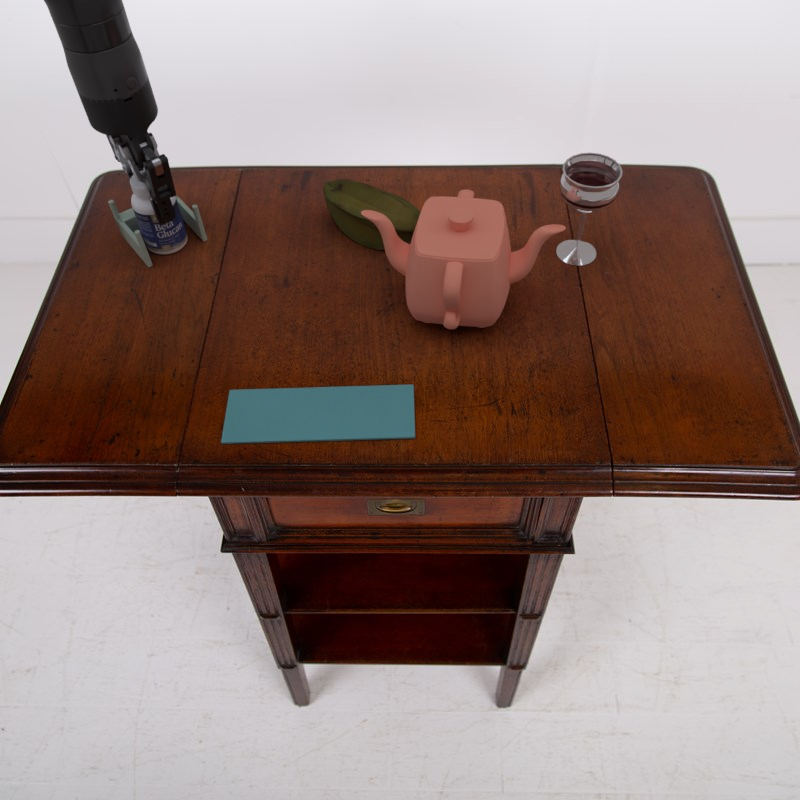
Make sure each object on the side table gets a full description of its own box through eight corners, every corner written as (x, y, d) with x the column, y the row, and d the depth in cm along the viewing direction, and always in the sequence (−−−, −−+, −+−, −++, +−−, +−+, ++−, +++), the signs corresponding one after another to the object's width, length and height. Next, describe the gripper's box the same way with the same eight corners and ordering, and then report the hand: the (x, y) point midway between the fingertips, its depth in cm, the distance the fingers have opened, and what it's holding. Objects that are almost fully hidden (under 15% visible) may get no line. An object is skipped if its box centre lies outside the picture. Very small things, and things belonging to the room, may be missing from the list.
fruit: (339, 268, 94) (333, 226, 89) (324, 210, 101) (318, 167, 96) (428, 253, 95) (428, 211, 90) (407, 196, 103) (406, 154, 97)
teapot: (366, 290, 91) (358, 204, 82) (476, 238, 97) (481, 152, 87) (438, 367, 84) (439, 282, 74) (553, 306, 89) (568, 219, 79)
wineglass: (591, 230, 97) (608, 148, 88) (612, 264, 93) (633, 182, 84) (540, 240, 96) (553, 157, 87) (560, 275, 92) (575, 192, 83)
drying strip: (221, 444, 78) (220, 442, 78) (230, 391, 82) (229, 389, 82) (415, 438, 78) (415, 437, 77) (413, 386, 82) (413, 384, 82)
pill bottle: (166, 261, 96) (143, 197, 88) (138, 245, 98) (113, 182, 90) (197, 238, 99) (177, 175, 91) (169, 223, 101) (148, 160, 93)
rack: (208, 240, 98) (198, 206, 94) (148, 268, 95) (135, 234, 91) (178, 208, 103) (167, 174, 98) (120, 234, 100) (106, 200, 95)
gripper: (52, 64, 83) (104, 192, 96) (105, 119, 76) (154, 250, 89) (116, 42, 86) (158, 170, 99) (173, 93, 78) (210, 224, 92)
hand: (156, 207), depth 94 cm, fingers closed on pill bottle, 5 cm apart
